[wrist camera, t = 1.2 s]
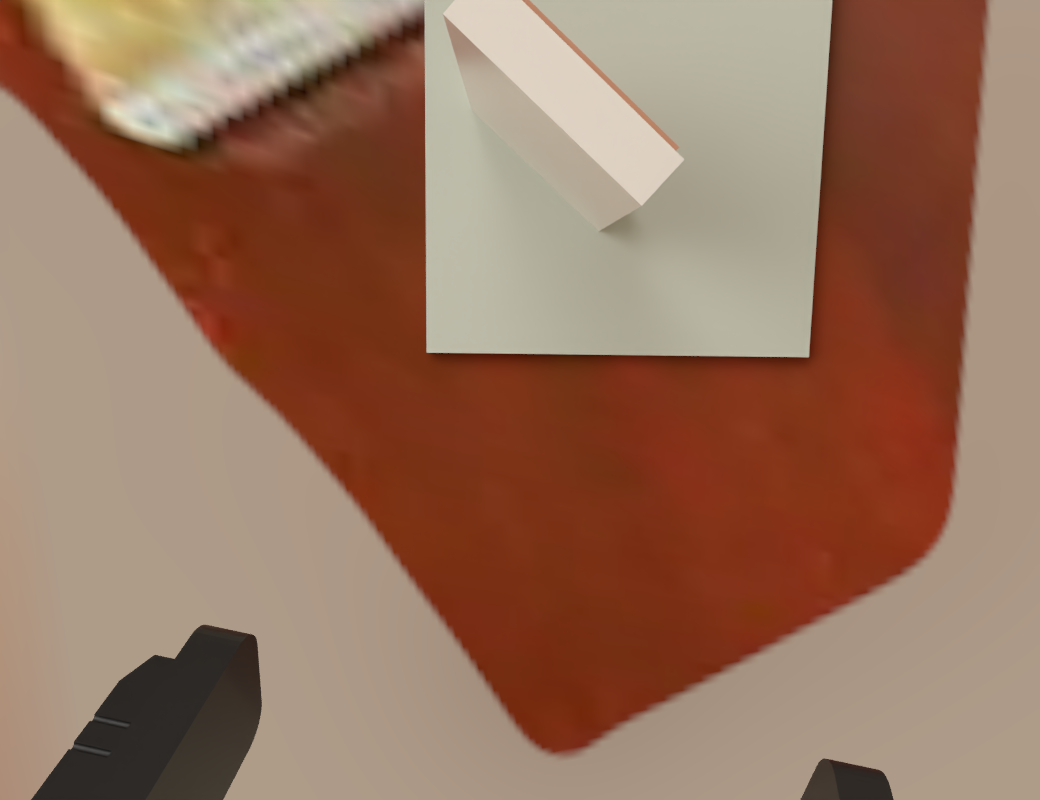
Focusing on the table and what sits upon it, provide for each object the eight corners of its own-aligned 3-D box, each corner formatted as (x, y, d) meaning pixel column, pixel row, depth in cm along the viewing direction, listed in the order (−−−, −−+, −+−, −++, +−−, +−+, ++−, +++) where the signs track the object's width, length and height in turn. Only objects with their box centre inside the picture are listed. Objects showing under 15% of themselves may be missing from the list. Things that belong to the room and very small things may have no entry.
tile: (598, 231, 33) (641, 205, 21) (471, 110, 32) (442, 14, 20) (629, 198, 33) (689, 153, 21) (502, 75, 32) (490, -43, 20)
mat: (428, 351, 34) (426, 352, 34) (424, -277, 31) (423, -289, 30) (803, 355, 34) (808, 357, 34) (845, -273, 31) (851, -283, 30)
